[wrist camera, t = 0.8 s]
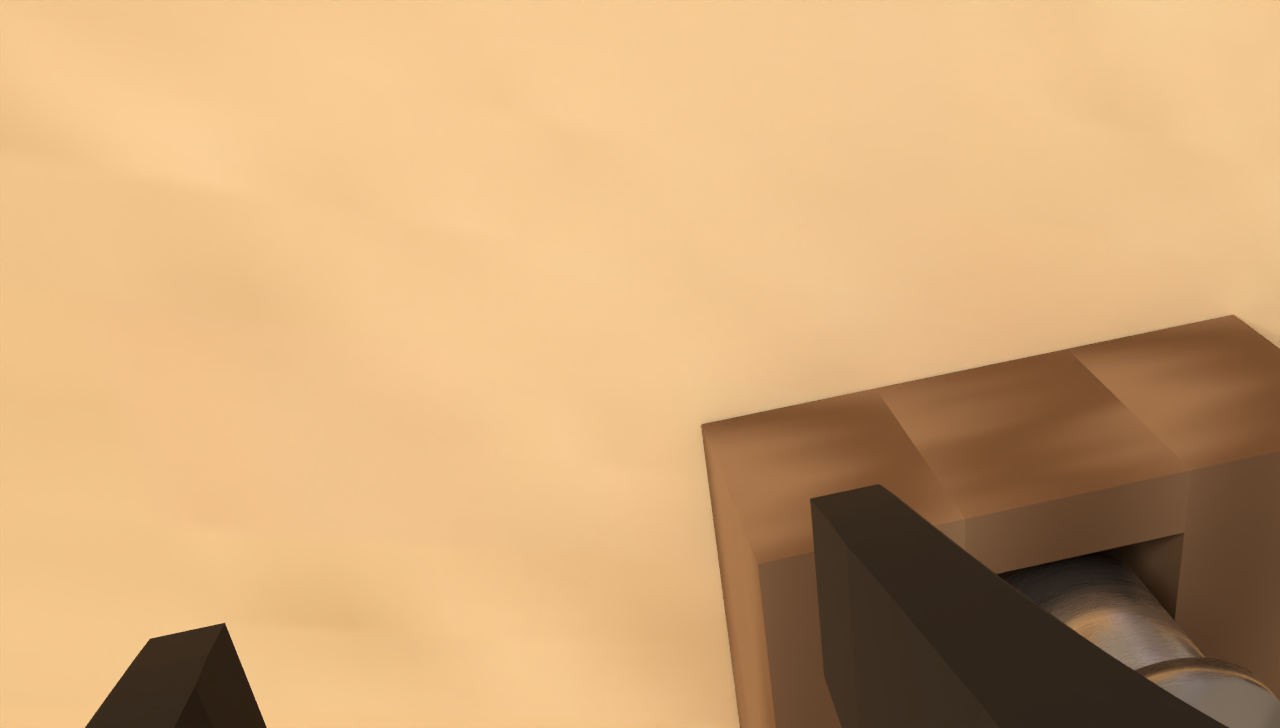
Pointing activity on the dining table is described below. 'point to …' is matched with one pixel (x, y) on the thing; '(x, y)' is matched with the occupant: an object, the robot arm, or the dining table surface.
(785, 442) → the socket block
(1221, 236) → the dining table surface
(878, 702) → the robot arm
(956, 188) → the dining table surface
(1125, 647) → the grey plug
